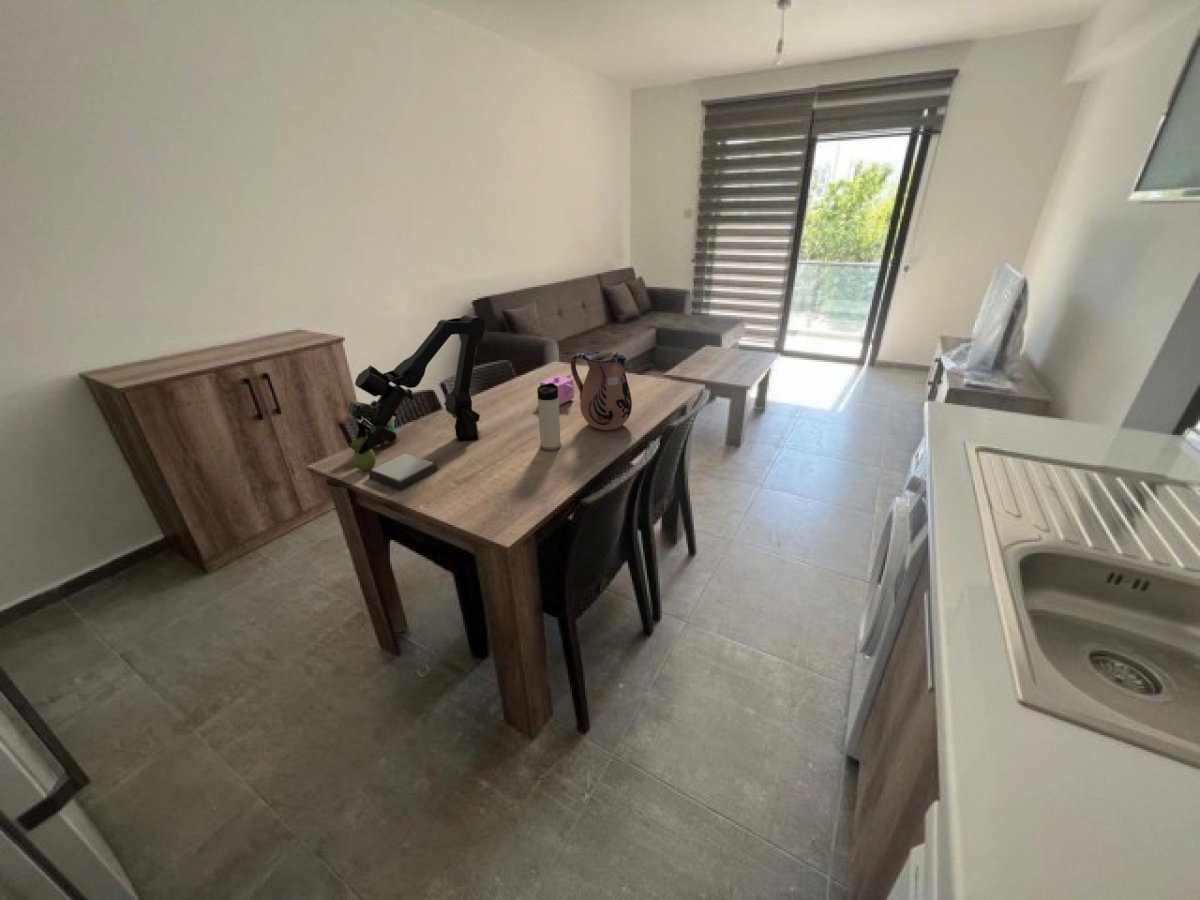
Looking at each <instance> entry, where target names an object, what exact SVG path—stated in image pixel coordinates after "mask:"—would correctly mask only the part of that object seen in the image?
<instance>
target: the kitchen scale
mask: <svg viewBox="0 0 1200 900" xmlns="http://www.w3.org/2000/svg"><path fill="white" fill-rule="evenodd" d="M438 470H439V469H438V464H437V462H433V461H430V460H427V459H424V458H421V457H418V456H415V455H412V454H410V453H403V454H401V455H399V456H397V457H394V458H393V459H390V460H389V461H387V462H384V463H382V464H380V465H378V466H376V467H373V468H372V469H370V470H368V472H367V473H368V476H369V479H371V480H374V481H376V482H379V483H382V484H384V485H387V486H389V487H392V488H394V489H397V490H400V491H402V490H404V489H406V488H407V487H409V486H411V485H414V483H415V484H416V482H419V481H420V480H422V479H424V478H425V477H427V476H430V475H431V474H433V473H434V472H436V471H438Z"/></svg>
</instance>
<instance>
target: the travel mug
mask: <svg viewBox="0 0 1200 900" xmlns="http://www.w3.org/2000/svg"><path fill="white" fill-rule="evenodd" d="M536 391H537V408H538V409H537V410H538V411H537V412H538V422H539V423H538V424H539V425H538V426H539V440H540V448H541V449H542V450H545V451H551V452H552V451H557V450H558V449H560V448H561V445H562V444H561V425H560V422H561V421H560V406H559V399H558V387H557V386H556V385H555V384H554V383H549V384H545V385H541V386H540V385H539V386H538V387H537V389H536Z"/></svg>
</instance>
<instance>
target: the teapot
mask: <svg viewBox="0 0 1200 900" xmlns="http://www.w3.org/2000/svg"><path fill="white" fill-rule="evenodd" d="M571 376H573V375H572V373H568V374H567V376H565V377H564V376H560V375H553V376H551V377H549V378H546V379H544V380H542V381H540V382H539V386H541V385H545V384H549V383H554V384H555V385H556V386H557V387H558V399H559V407H560V406H563V404H566V403H569V402H570V401H571V400H573V399H574V398H575V386H574V384H575V383H574V382H575V380H574V378H571Z"/></svg>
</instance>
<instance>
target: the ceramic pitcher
mask: <svg viewBox="0 0 1200 900" xmlns="http://www.w3.org/2000/svg"><path fill="white" fill-rule="evenodd" d="M580 359H582V361H585V362H586V363H587V366H588V371H587V374H586V377H585V379H584V381H583V382H582V379H581V378H580V375H579V374H578V371H577V365H576V364H577V363H576V362H577V361H578V360H580ZM626 359H627V358H626V356H625V355H622V354H619V351H616V350H596V351H592V352H578V353H576V354H574V355H573V357H572V358H571V360H570V371H571V374H572V375H571V376H572V377H573V380H574V382H575V385H576V386H577V389H578V392H579V400H580V401H579V404H580V405H579V409H580V412H581V415H582V417H583V419H584V420H585V421H586V423H588V425H589V426H591V427H592V428H595V429H597V430H600V431H612V430H615V429H618V428H620V427H622V426H623V425H624V424H625V423H626V422H627V421H628V420H629V418H630V416H631V414H632V410H633V409H632V408H633V401H632V400H633V399H632V395H631V389H630V386H629V383H628V378H627V375H626V370H625V369H626V368H625V364H626Z"/></svg>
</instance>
